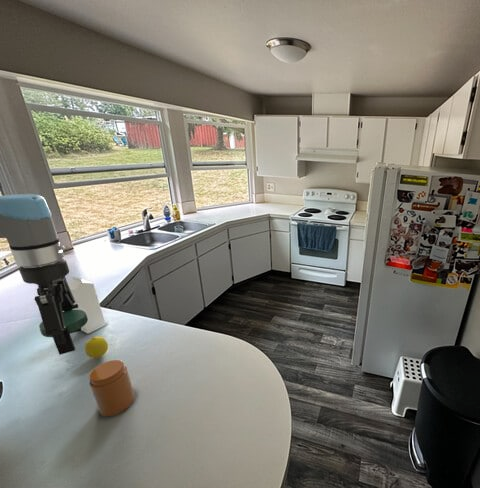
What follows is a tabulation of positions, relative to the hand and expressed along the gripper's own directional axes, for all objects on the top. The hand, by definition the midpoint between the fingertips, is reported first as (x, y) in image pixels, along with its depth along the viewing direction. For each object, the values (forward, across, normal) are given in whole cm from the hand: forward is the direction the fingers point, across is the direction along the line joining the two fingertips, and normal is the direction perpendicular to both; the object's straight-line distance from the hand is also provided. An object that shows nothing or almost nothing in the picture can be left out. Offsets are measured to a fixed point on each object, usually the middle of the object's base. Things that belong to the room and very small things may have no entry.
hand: (71, 341), depth 66 cm
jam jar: (+18, -8, -7) cm, 21 cm away
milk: (+19, +37, +3) cm, 42 cm away
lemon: (+19, +16, -1) cm, 25 cm away
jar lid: (-7, 0, 0) cm, 7 cm away
